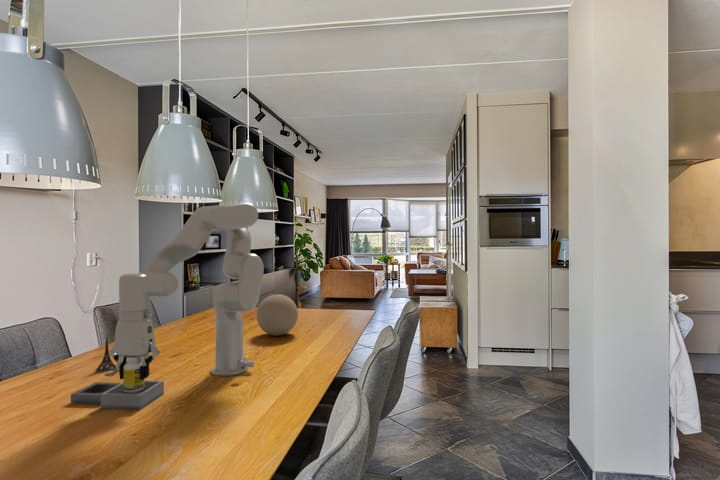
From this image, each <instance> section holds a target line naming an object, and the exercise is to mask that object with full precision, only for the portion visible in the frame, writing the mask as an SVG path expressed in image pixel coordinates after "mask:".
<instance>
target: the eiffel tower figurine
mask: <svg viewBox="0 0 720 480" xmlns="http://www.w3.org/2000/svg"><path fill="white" fill-rule="evenodd" d="M104 346H105V348H104V354H103V358H102V360H101V361H100V363H99V365H98V366H97V368H96V369H95V371H97V372H99V373H100V374H103V373H105V374H104V377H108V376H114V375H115V374H117V373H119V365H114V364H113V363H114V362H113V360H112V359H111V355H110V354H109V351H110V349H109V337H108V336H106V337H105V345H104ZM101 367H102V368H101ZM107 372H108V373H107Z"/></svg>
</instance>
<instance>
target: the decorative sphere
mask: <svg viewBox="0 0 720 480" xmlns="http://www.w3.org/2000/svg"><path fill="white" fill-rule="evenodd" d="M297 307H298V306H297V305H296V303H295V302H294V300H293V299H292V298H290V297H289V296H286V295H285V294H280V293H279V294H272V295H268V296H267V297H265V298H264V299H263V300H261V302H260V303H259V305H258V308H257V311H256V322H257V325H258V326H259V328H260V329H261V330H262V332H264V333H266V334H268V335H269V336H270V335H271V336H275V337H276V336H282V335H286V334H288V333H289V332H291V330H292V329H294V327H295V325H297V322H298V317H299V312H298V311H299V310H298V308H297Z"/></svg>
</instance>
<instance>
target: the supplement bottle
mask: <svg viewBox="0 0 720 480" xmlns="http://www.w3.org/2000/svg"><path fill="white" fill-rule="evenodd" d="M126 361H127V364H125V365H124V379H123V382H124V391H125V392H137V391H140V390H142V389H143V388H144V386H145V380H146V378H145V379H143V380H141V379H140V366H142V363H141V360H140V357H139V356H127V359H126Z"/></svg>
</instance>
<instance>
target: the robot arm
mask: <svg viewBox="0 0 720 480" xmlns="http://www.w3.org/2000/svg"><path fill="white" fill-rule="evenodd" d="M258 220H259V211H258V209H257V207H256V206H255V205H254V204H252V203H250V202H240V203H239V202H238V203H226V204H223V205H208V206H200V207H198V208H197V209H195V210H194V211H193V212H192V214H191V215H190V216H189V218H188V219H187V221H186V222H185V224H184V225H183V226H182V227H181V229H180V230H179V232H178V233H177V234H176V235H175V237H174V238H173V239H172V240H171V241H170V242H168V243H167V244H166V245H165V246H163V247H162V248H161V249H160V250H158V251H156V253H155V254H153V255H152V257H151V258H150V259H149V260H148V261H147V262H146V263H145V265H144V267H142V269H141V270H140V272H138V273H126V274H125V273H124V274H122V275H121V276H120V277H119V278H118V300H119V301H118V316H119V317H118V321H117V322H116V327H115V332H114V344H113V346H112V347H111V348H110V349H109V355H110V357H112V358H113V360H114V361H115V362H116V363H117V365H119V372H118V373H119V380H124V365H125V364H127V361H126V359H127V356H139V357H140V360H141V363H142V366H140V379H141V380H143V379H145V380H146V379H147V378H149V376H150V364H151V363H152V361H153V360H155V358H157V356H159V355H160V354H161V351H160V350H159V349H158V348H157V346H156V337H155V331H154V330H155V329H154V325H153V321H152V319H149V318H152V317H153V312H151V311H150V310H149V297H157V298H158V297H160V298H162V297H163V298H164V297H168V296H171V295H172V294H174V293H175V292H177V290H178V288H179V280H178V278H177V277H176V275H174V273H171V272H170V270H172V269H173V268H174V267H175V266H177V265H178V264H180V263H182V262H184V261H186V260H189V259H191V258H192V257H194V256H196V255H197V254H198V253H199V252H200V251H201V249H202V248H203V246H204V245H205V242H206V241H207V240H208V239H209V237H210V236H211V234H212V233H213V232H225V233H226V236H227V242H226V248H225V252H224V253H225V254H224V257H223V264H222V273H223V275H224V276H225V277H227V278H229V279H232V280H238V282H230V281H229V282H228V281H227V282H223V283H220V284H218V285H217V286H216V287H215V289H214V290H213V294H212V303H213V309H214V316H215V318H214V319H215V365H213V366H212V367H211V369H210V373H211V375H212V374H213V375H214V376H221V377H224V376H225V377H229V376H235V375H240V374H242V373H245V372H246V371H248V368H255V361H254V360H253V359H247V357H246V355H244V316H243V312H244V313H245V312H250V311H252V310H254V309H255V307H256V306H257V304H258V302H259V300H260V299H259V298H260V293H261V289H262V285H263V284H262V283H263V278H264V269H265V268H264V267H265V266H264V262H263V260H262V258H261V257H260V256H259V255H257V254H256V253H251V248H252V237H251V236H252V235H251V232H250V230H249V228H250V227H252V226H254V225H255V224H256V223H257V221H258ZM150 353H151V354H150Z"/></svg>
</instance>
